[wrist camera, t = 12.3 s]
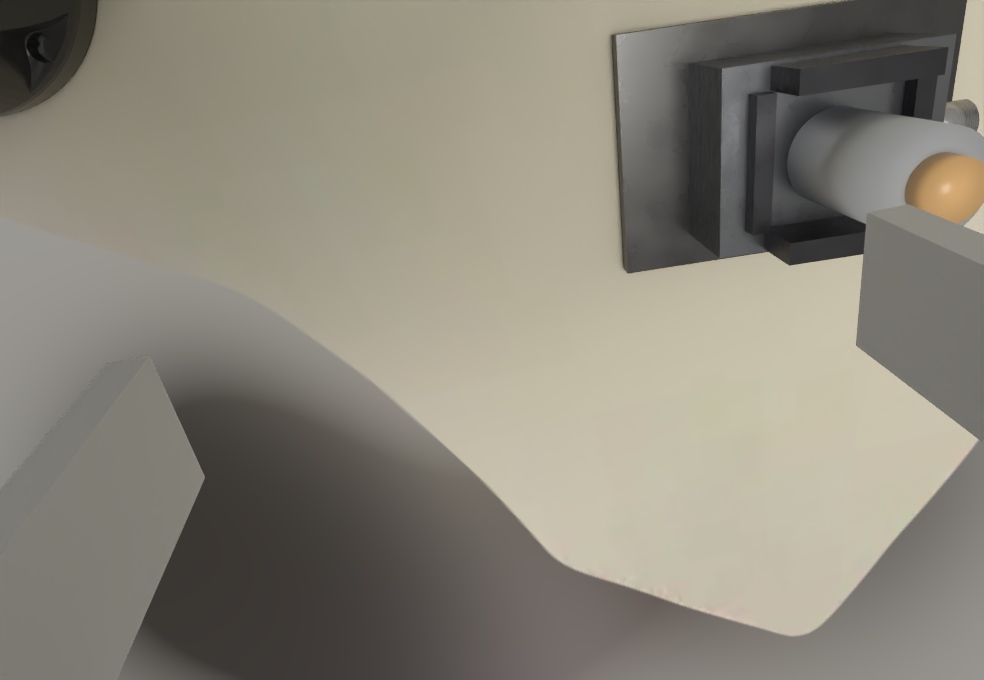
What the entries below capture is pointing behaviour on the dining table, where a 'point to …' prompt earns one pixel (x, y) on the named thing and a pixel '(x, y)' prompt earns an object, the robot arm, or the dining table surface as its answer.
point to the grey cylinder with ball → (887, 164)
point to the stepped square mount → (764, 121)
